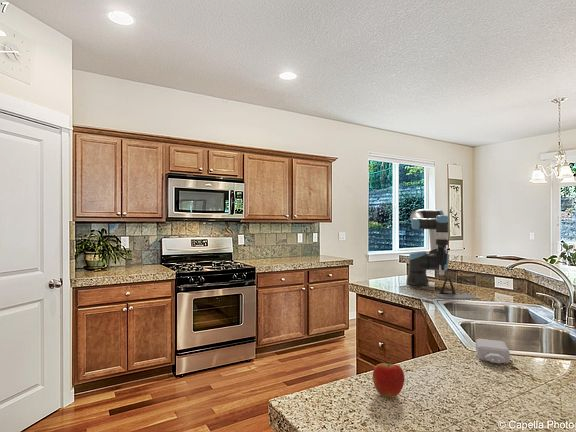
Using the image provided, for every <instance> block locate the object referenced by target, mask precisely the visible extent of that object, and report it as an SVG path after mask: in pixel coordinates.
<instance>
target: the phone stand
mask: <svg viewBox="0 0 576 432" xmlns="http://www.w3.org/2000/svg"><path fill="white" fill-rule="evenodd" d="M447 275H448V276H449V277H447ZM444 276H445V280H444V282H443V284H442V287H441V290H440V292H439V294H457V292H456V289H455V286H454V284H453V281H452V278H451V277H452V275H451V273H446V274H445V275H444ZM447 281H448V282H449V285H450V289H451V291H445V288H446V284H447Z"/></svg>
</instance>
